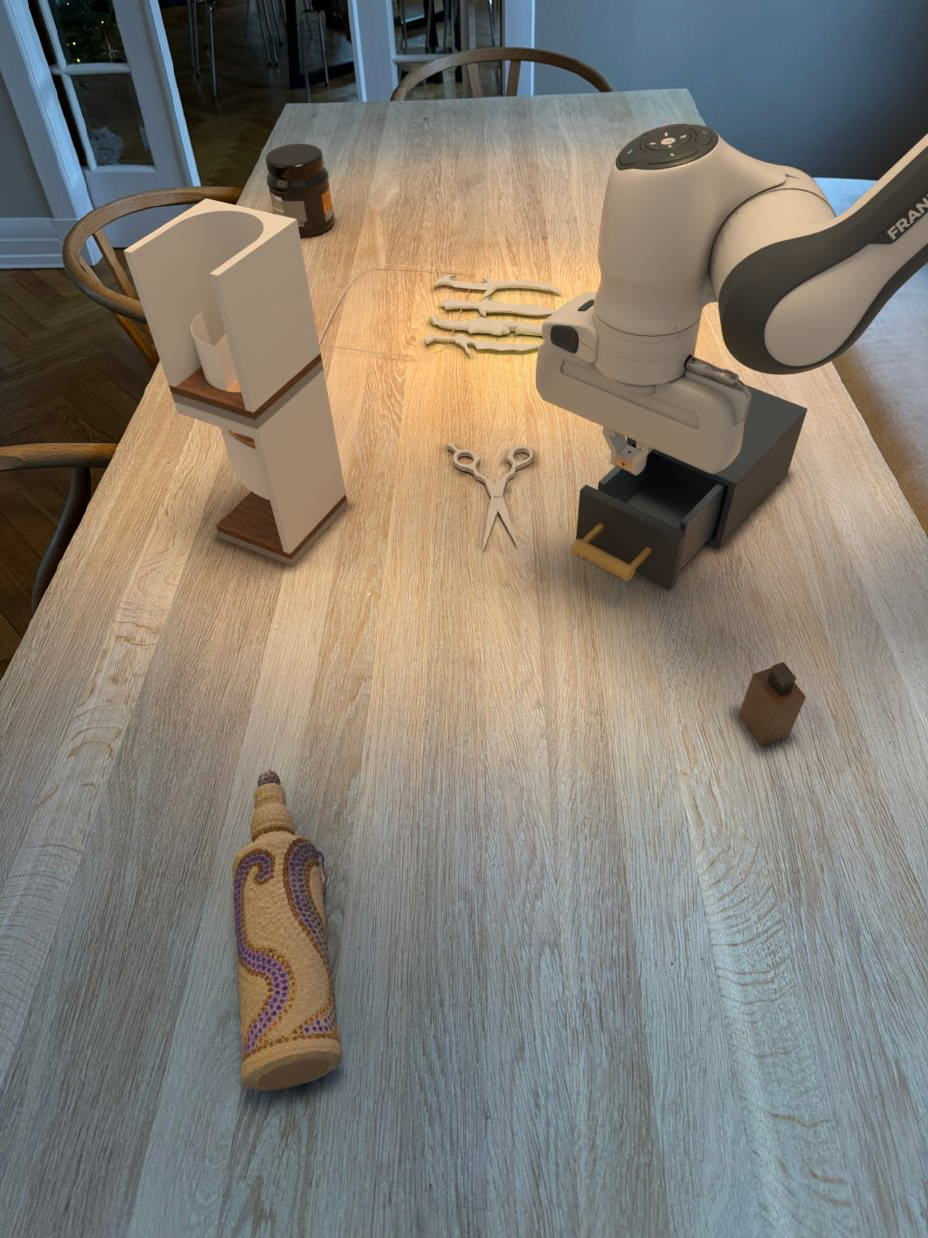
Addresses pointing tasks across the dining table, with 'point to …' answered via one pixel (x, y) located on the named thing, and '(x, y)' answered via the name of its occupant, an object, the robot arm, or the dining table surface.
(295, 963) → the decorative bottle
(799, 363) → the robot arm
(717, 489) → the drawer
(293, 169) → the supplement container
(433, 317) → the driftwood wall hanging
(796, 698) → the small brown bottle
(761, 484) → the cabinet
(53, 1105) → the dining table surface
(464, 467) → the scissors
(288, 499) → the slotted cup holder tower
